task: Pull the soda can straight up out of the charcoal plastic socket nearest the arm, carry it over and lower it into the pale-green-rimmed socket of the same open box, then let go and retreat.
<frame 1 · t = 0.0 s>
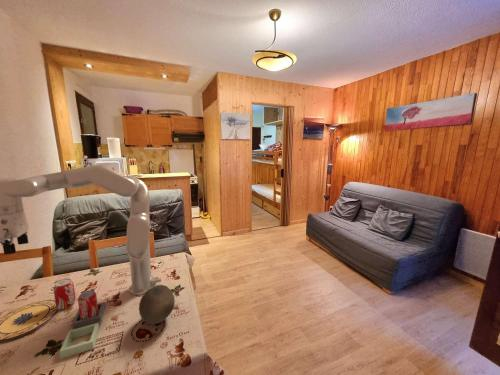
hand: (17, 248, 88), 31 cm above the table, fingers open, 9 cm apart
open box: (86, 329, 86), on the table
soda can: (90, 318, 92), resting in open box
soda can 2: (66, 305, 99), on the table
cantaloupe: (158, 320, 92), on the table
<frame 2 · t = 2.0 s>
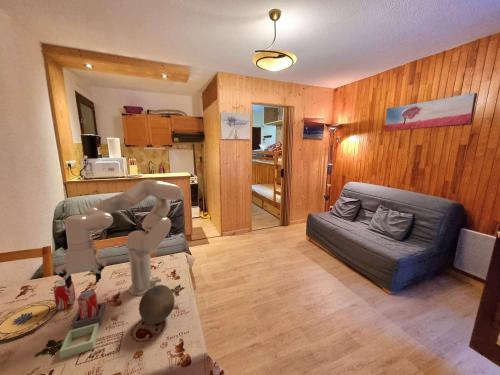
hand: (84, 283, 88), 17 cm above the table, fingers open, 9 cm apart
nothing on the table moved.
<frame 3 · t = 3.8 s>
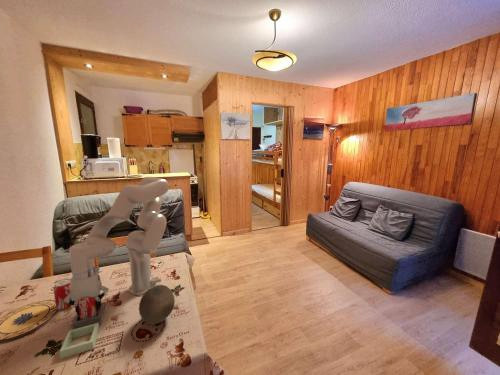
hand: (89, 310, 91), 4 cm above the table, fingers closed on soda can, 6 cm apart
soda can: (90, 318, 92), resting in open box, touching gripper
everything else where it was.
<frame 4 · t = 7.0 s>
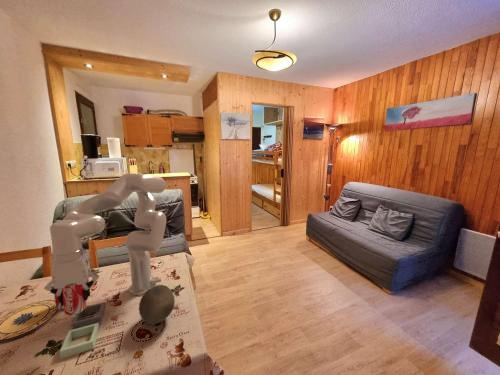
hand: (75, 300, 77), 18 cm above the table, fingers closed on soda can, 6 cm apart
soda can: (76, 310, 78), point 14 cm above the table, touching gripper
everything else where it was.
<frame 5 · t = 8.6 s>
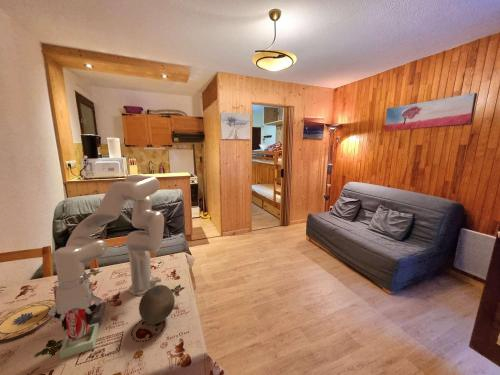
hand: (78, 323, 79), 8 cm above the table, fingers closed on soda can, 6 cm apart
soda can: (78, 334, 79), point 4 cm above the table, touching gripper
everything else where it was.
when the fingers open (6 cm above the table, at t = 10.0 s): soda can drops 2 cm, resting in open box.
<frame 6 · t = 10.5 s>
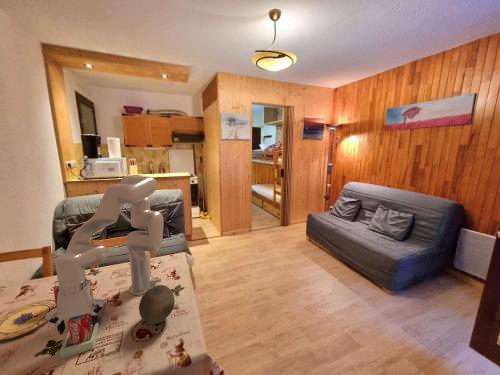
hand: (79, 327, 79), 7 cm above the table, fingers open, 9 cm apart
soda can: (82, 342, 80), resting in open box
everything else where it was.
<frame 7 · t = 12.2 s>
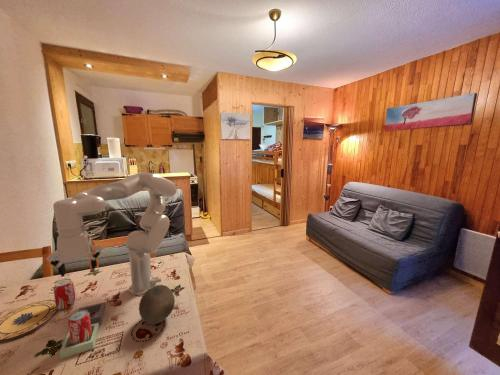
hand: (79, 271, 84), 25 cm above the table, fingers open, 9 cm apart
nothing on the table moved.
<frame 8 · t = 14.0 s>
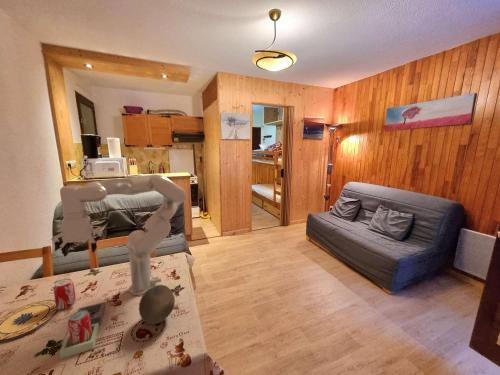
hand: (80, 252, 91), 28 cm above the table, fingers open, 9 cm apart
nothing on the table moved.
at the end: soda can 0.3 cm from the target spot on the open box, point 0.0 cm above the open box's base; soda can tilted 0°; the gripper is holding nothing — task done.
